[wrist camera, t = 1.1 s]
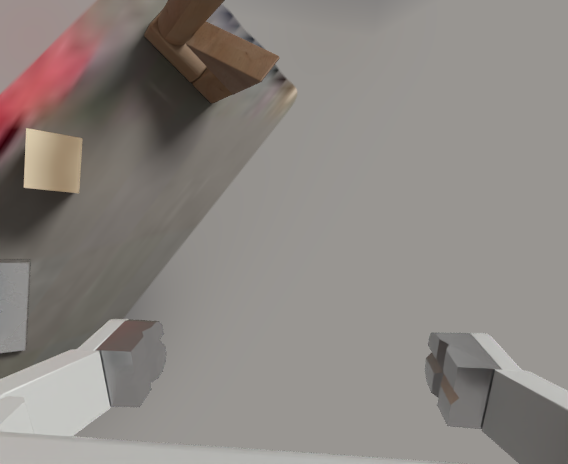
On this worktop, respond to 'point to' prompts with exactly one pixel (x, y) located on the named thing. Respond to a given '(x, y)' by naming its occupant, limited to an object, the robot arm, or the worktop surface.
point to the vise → (14, 304)
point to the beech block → (52, 161)
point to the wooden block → (207, 49)
